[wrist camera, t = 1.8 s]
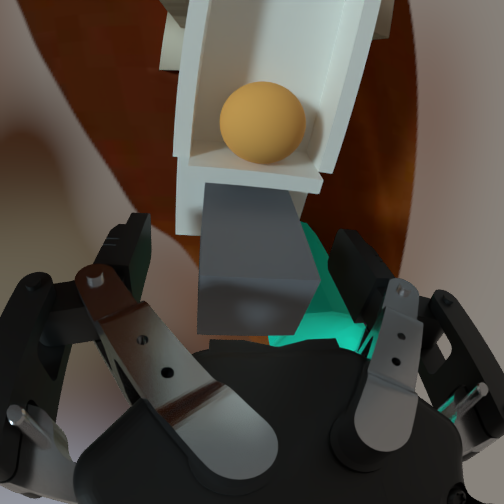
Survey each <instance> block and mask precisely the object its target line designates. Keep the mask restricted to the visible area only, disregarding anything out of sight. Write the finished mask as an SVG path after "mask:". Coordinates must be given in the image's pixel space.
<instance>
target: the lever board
mask: <svg viewBox="0 0 504 504" xmlns="http://www.w3.org/2000/svg"><path fill="white" fill-rule="evenodd" d="M380 3H381V0H189V6H188V12H187V18H186V25H185V31H184V38H183V46H182V53H181V62H180V70H179V80H178V90H177V101H176V113H175V127H174V144H173V156H174V157H178V164H177V189H176V234H180V235H196V236H201V239H200V258H199V282H198V313H197V334H202V335H203V334H204V335H237V336H238V335H239V336H284V335H294V334H295V332H296V330H297V328H298V326H299V324H300V322H301V320H302V318H303V316H304V314H305V312H306V310H307V308H308V306H309V304H310V302H311V300H312V298H313V296H314V294H315V292H316V290H317V288H318V286H319V283H320V281H321V279H320V276H319V273H318V270H317V267H316V264H315V262H314V259H313V256H312V253H311V250H310V247H309V244H308V242H307V239H306V236H305V233H304V231H303V228H302V225H301V222H300V216H301V213H302V210H303V207H304V204H305V200H306V197H307V194H308V193H314V194H319V193H320V190H321V187H322V184H323V181H324V180H323V179H322V177H321V175H320V174H319V172H324V173H330V174H332V173H333V170H334V167H335V164H336V161H337V158H338V155H339V152H340V149H341V146H342V142H343V139H344V136H345V133H346V130H347V126H348V123H349V120H350V116H351V113H352V110H353V106H354V103H355V99H356V96H357V93H358V89H359V86H360V82H361V78H362V75H363V71H364V67H365V64H366V60H367V56H368V52H369V49H370V45H371V41H372V37H373V33H374V29H375V25H376V21H377V16H378V12H379V8H380ZM261 81H265V82H272V83H276V84H278V85H281V86H283V87H285V88H287V89H288V90H289V91H291V92H292V93H293V94H294V95H295V96H296V97H297V98H298V100H299V101H300V103H301V105H302V107H303V109H304V113H305V117H306V129H305V133H304V137H303V139H302V141H301V143H300V144H299V146H298V147H297V149H296V150H295V151H294V152H293V153H292V154H290V155H289V156H288V157H286V158H284V159H282V160H280V161H277V162H274V163H269V164H257V163H252V162H249V161H246V160H244V159H242V158H240V157H238V156H237V155H236V154H234V153H233V152H232V151H231V150H230V149H229V148H228V146H227V145H226V143H225V142H224V140H223V137H222V135H221V131H220V114H221V110H222V107H223V105H224V103H225V102H226V100H227V99H228V97H229V96H230V95H231V94H232V93H233V92H234V91H236V90H237V89H238V88H240V87H242V86H244V85H246V84H249V83H253V82H261Z"/></svg>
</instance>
